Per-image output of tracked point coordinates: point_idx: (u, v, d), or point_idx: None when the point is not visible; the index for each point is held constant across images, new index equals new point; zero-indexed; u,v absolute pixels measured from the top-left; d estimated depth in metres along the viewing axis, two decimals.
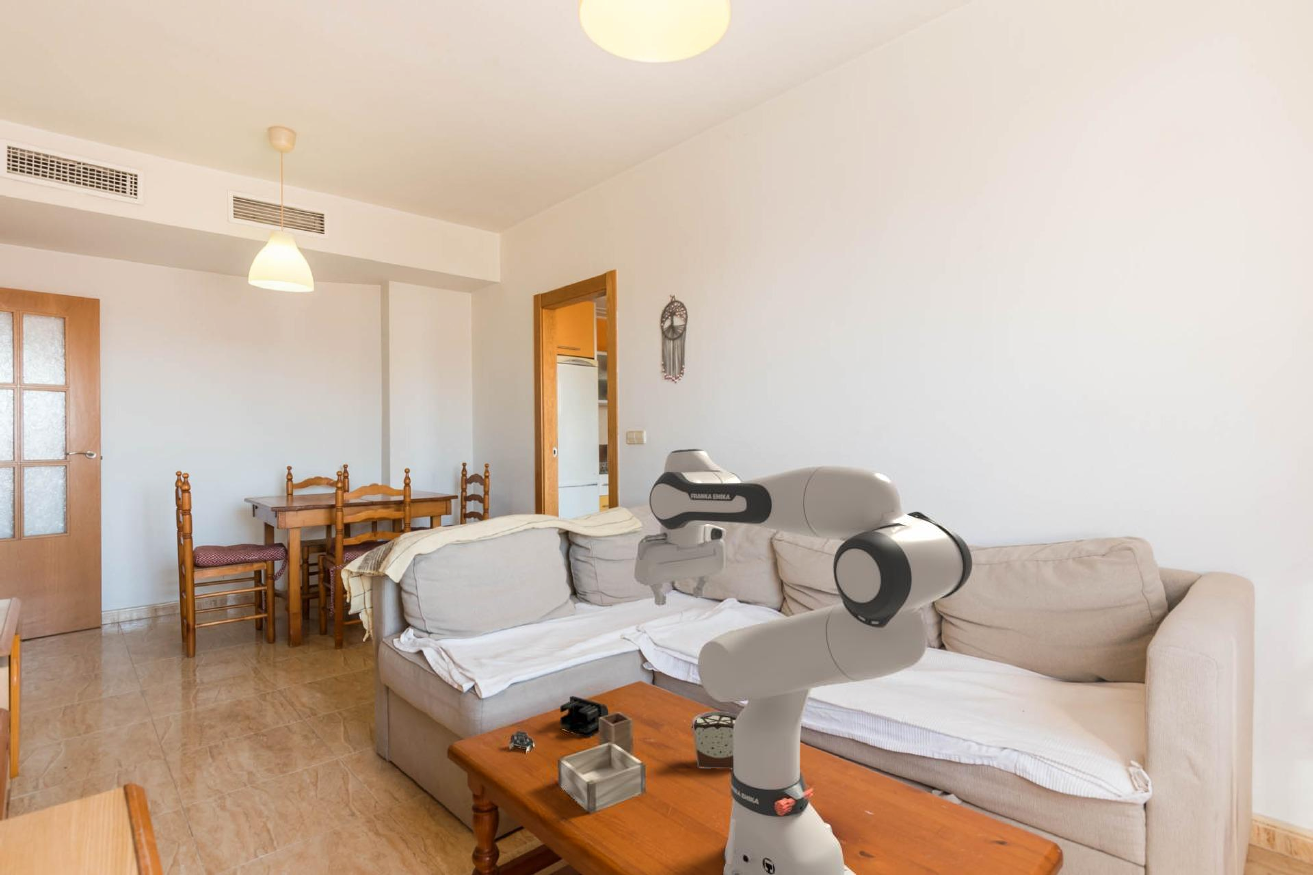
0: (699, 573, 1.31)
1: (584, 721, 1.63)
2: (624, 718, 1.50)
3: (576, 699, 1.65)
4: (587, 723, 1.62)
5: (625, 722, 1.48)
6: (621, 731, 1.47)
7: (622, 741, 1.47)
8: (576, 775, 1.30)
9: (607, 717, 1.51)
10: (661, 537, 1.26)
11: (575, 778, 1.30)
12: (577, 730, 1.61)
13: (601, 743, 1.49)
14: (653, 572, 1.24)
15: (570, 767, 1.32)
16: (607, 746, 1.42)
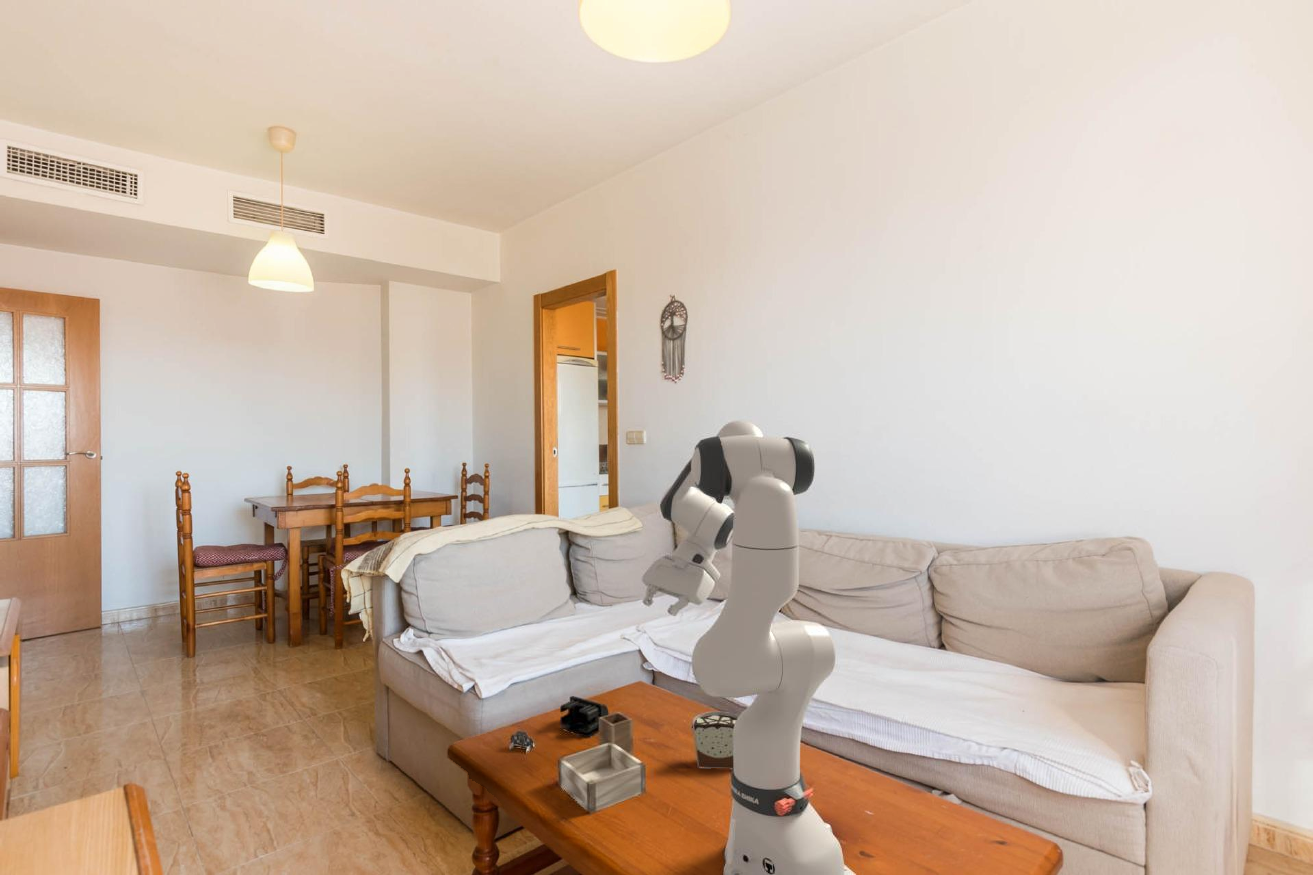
0: (675, 588, 1.53)
1: (584, 721, 1.63)
2: (624, 718, 1.50)
3: (576, 699, 1.65)
4: (587, 723, 1.62)
5: (625, 722, 1.48)
6: (621, 731, 1.47)
7: (622, 741, 1.47)
8: (576, 775, 1.30)
9: (607, 717, 1.51)
10: None
11: (575, 778, 1.30)
12: (577, 730, 1.61)
13: (601, 743, 1.49)
14: (649, 573, 1.63)
15: (570, 767, 1.32)
16: (607, 746, 1.42)
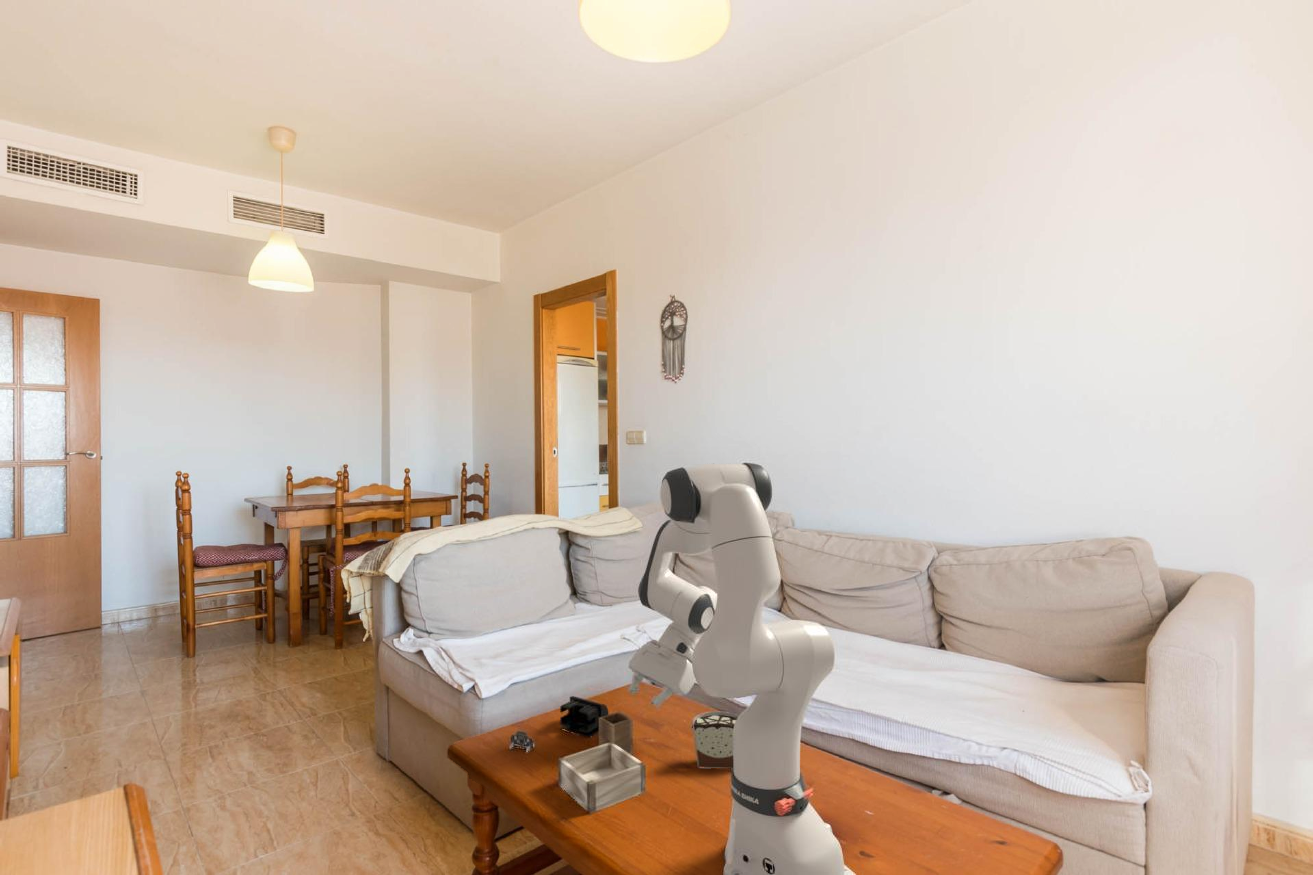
0: (659, 678, 1.53)
1: (584, 721, 1.63)
2: (624, 718, 1.50)
3: (576, 699, 1.65)
4: (587, 723, 1.62)
5: (625, 722, 1.48)
6: (621, 731, 1.47)
7: (622, 741, 1.47)
8: (576, 775, 1.30)
9: (607, 717, 1.51)
10: None
11: (575, 778, 1.30)
12: (577, 730, 1.61)
13: (601, 743, 1.49)
14: (636, 659, 1.63)
15: (570, 767, 1.32)
16: (607, 746, 1.42)
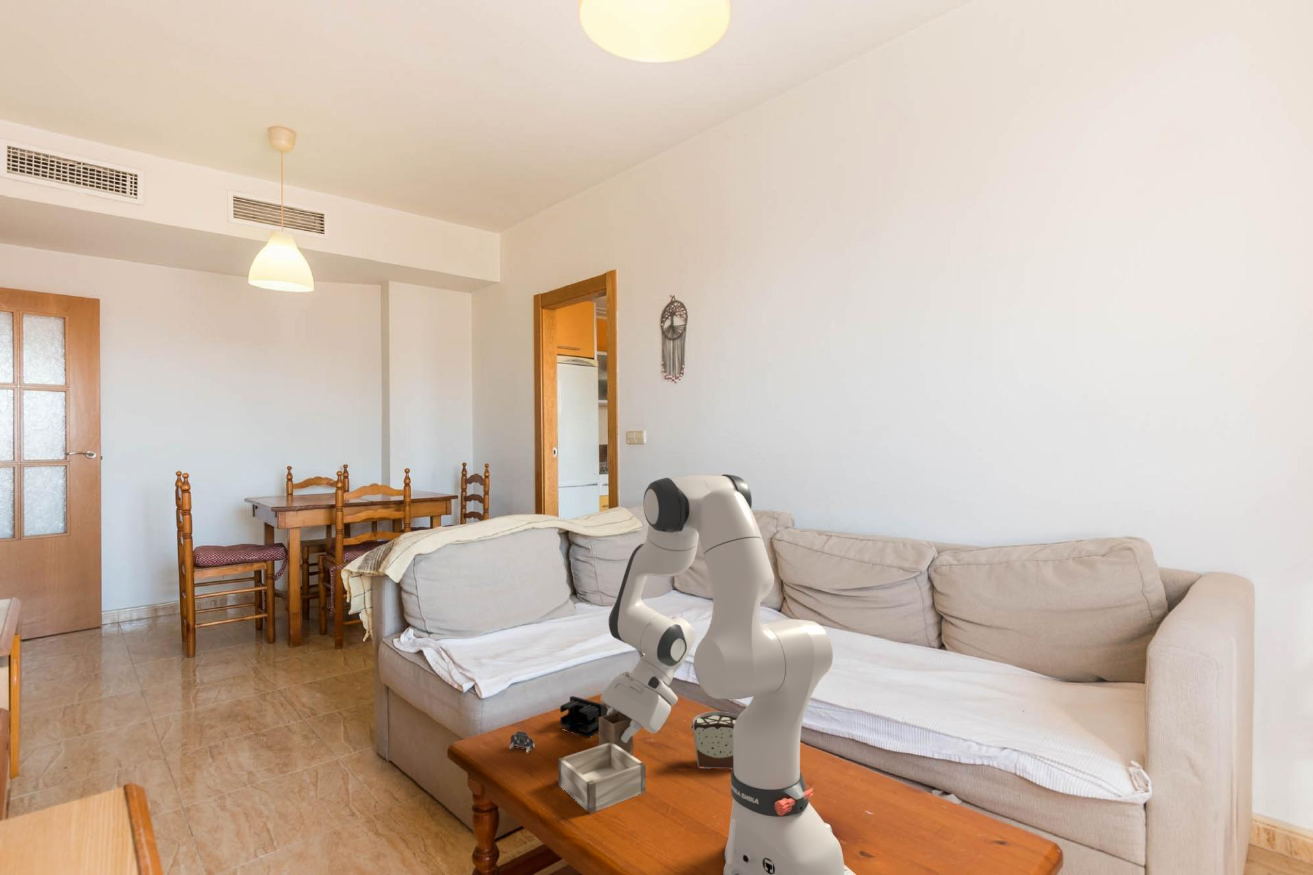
0: (630, 714, 1.48)
1: (584, 721, 1.63)
2: (624, 718, 1.50)
3: (576, 699, 1.65)
4: (587, 723, 1.62)
5: (625, 722, 1.48)
6: (621, 731, 1.47)
7: None
8: (576, 775, 1.30)
9: (607, 717, 1.51)
10: None
11: (575, 778, 1.30)
12: (577, 730, 1.61)
13: (601, 743, 1.49)
14: (608, 692, 1.58)
15: (570, 767, 1.32)
16: (607, 746, 1.42)
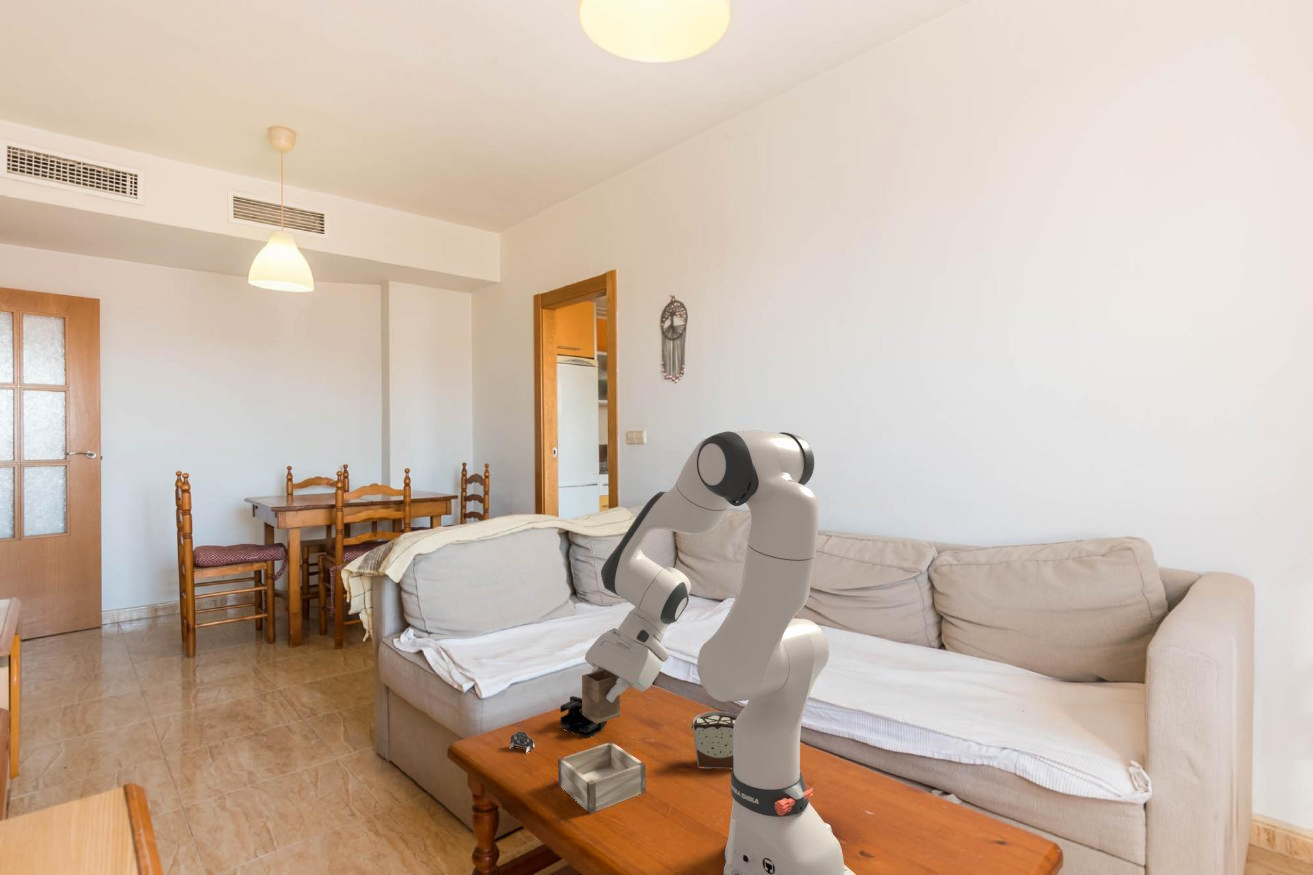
0: (617, 671, 1.33)
1: (584, 721, 1.63)
2: (610, 676, 1.35)
3: (576, 699, 1.65)
4: (587, 723, 1.62)
5: (611, 679, 1.33)
6: (606, 689, 1.32)
7: (607, 700, 1.32)
8: (576, 775, 1.30)
9: (591, 675, 1.36)
10: None
11: (575, 778, 1.30)
12: (577, 730, 1.61)
13: (584, 703, 1.34)
14: (593, 650, 1.43)
15: (570, 767, 1.32)
16: (607, 746, 1.42)
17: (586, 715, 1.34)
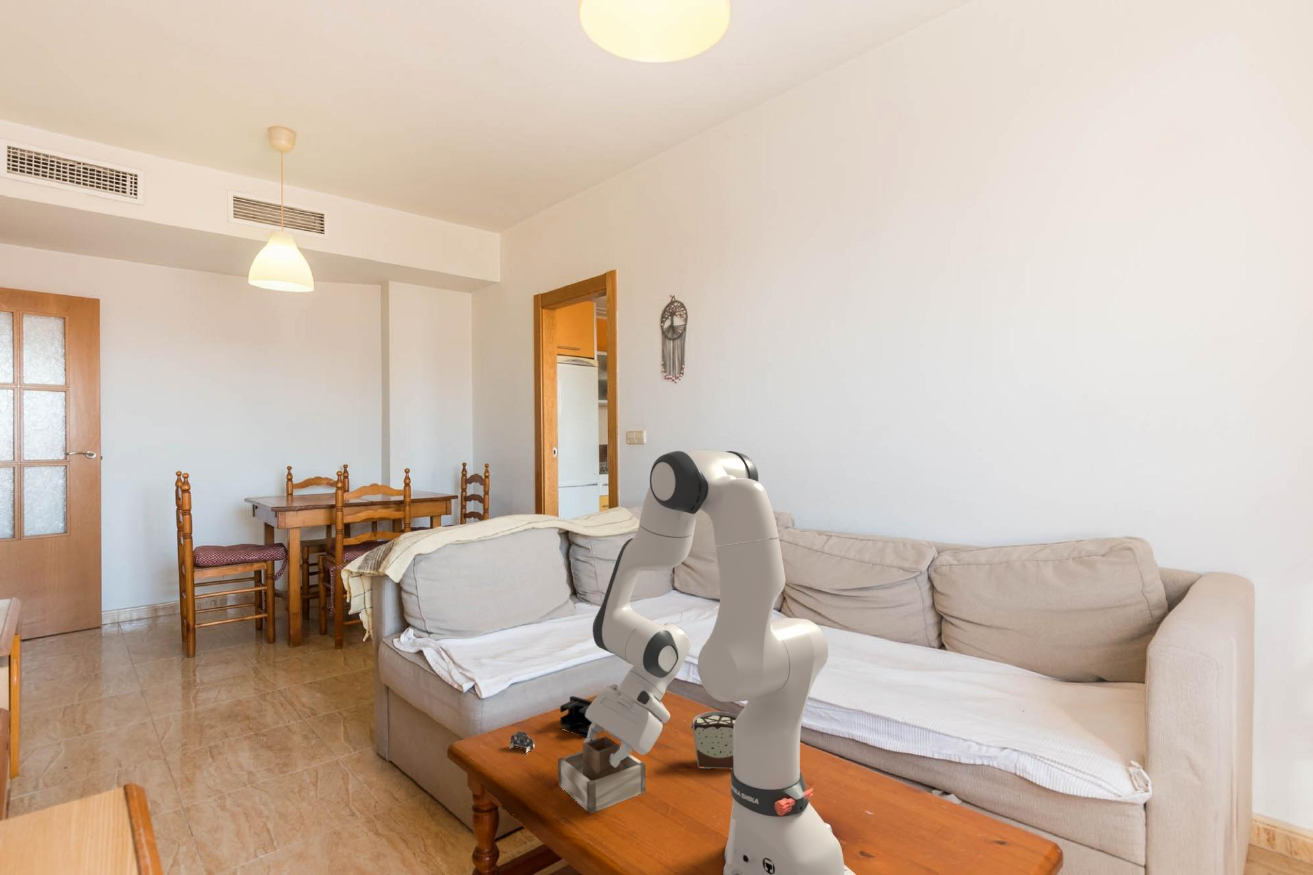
0: (617, 733, 1.33)
1: (584, 721, 1.63)
2: (611, 744, 1.35)
3: (576, 699, 1.65)
4: (587, 723, 1.62)
5: (612, 749, 1.33)
6: (607, 759, 1.32)
7: (608, 770, 1.32)
8: (576, 775, 1.30)
9: (592, 743, 1.36)
10: None
11: (575, 778, 1.30)
12: (577, 730, 1.61)
13: (585, 772, 1.34)
14: (593, 707, 1.43)
15: (570, 767, 1.32)
16: None
17: None
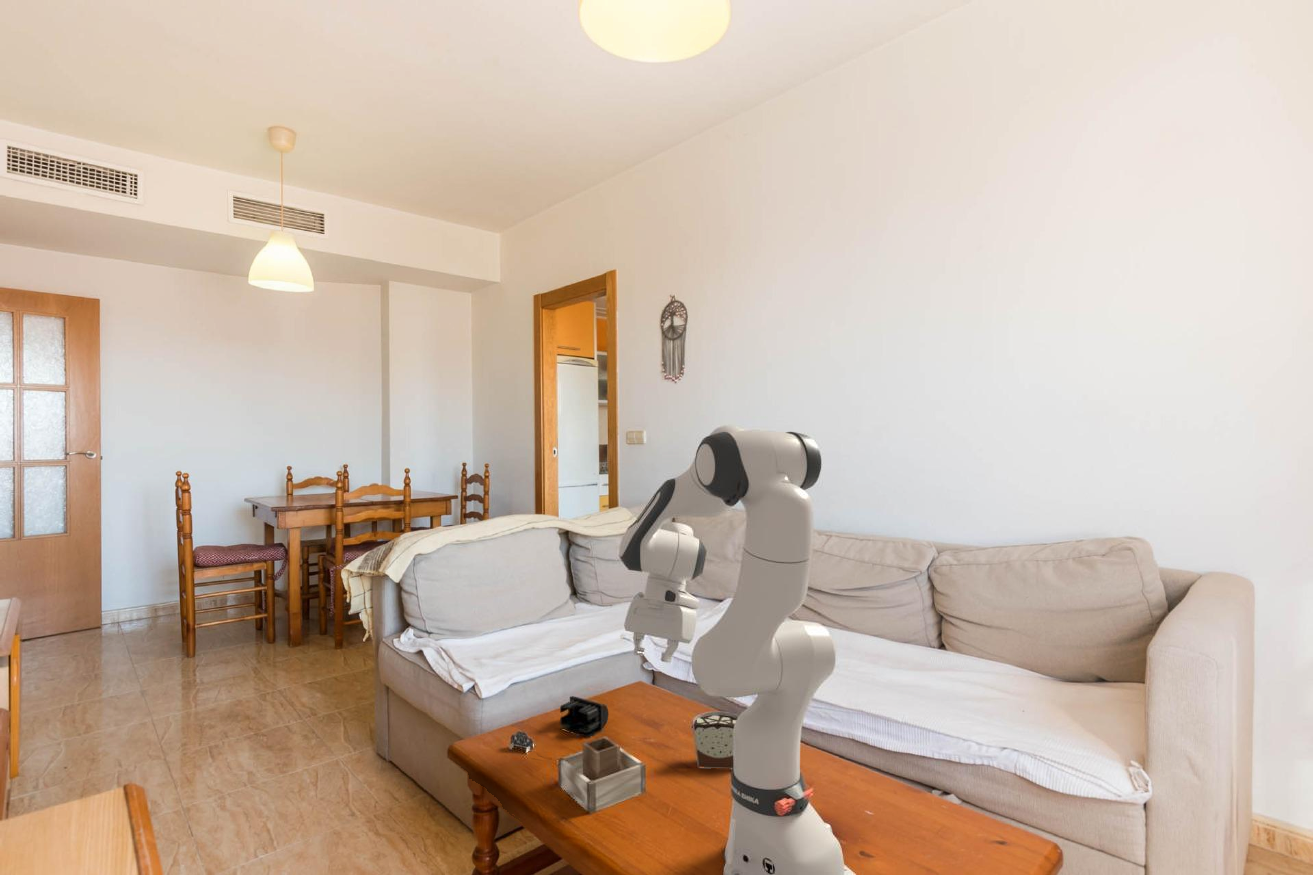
0: (660, 634, 1.43)
1: (584, 721, 1.63)
2: (611, 744, 1.35)
3: (576, 699, 1.65)
4: (587, 723, 1.62)
5: (612, 749, 1.33)
6: (607, 759, 1.32)
7: (608, 770, 1.32)
8: (576, 775, 1.30)
9: (592, 743, 1.36)
10: None
11: (575, 778, 1.30)
12: (577, 730, 1.61)
13: (585, 772, 1.34)
14: (629, 620, 1.52)
15: (570, 767, 1.32)
16: None
17: None
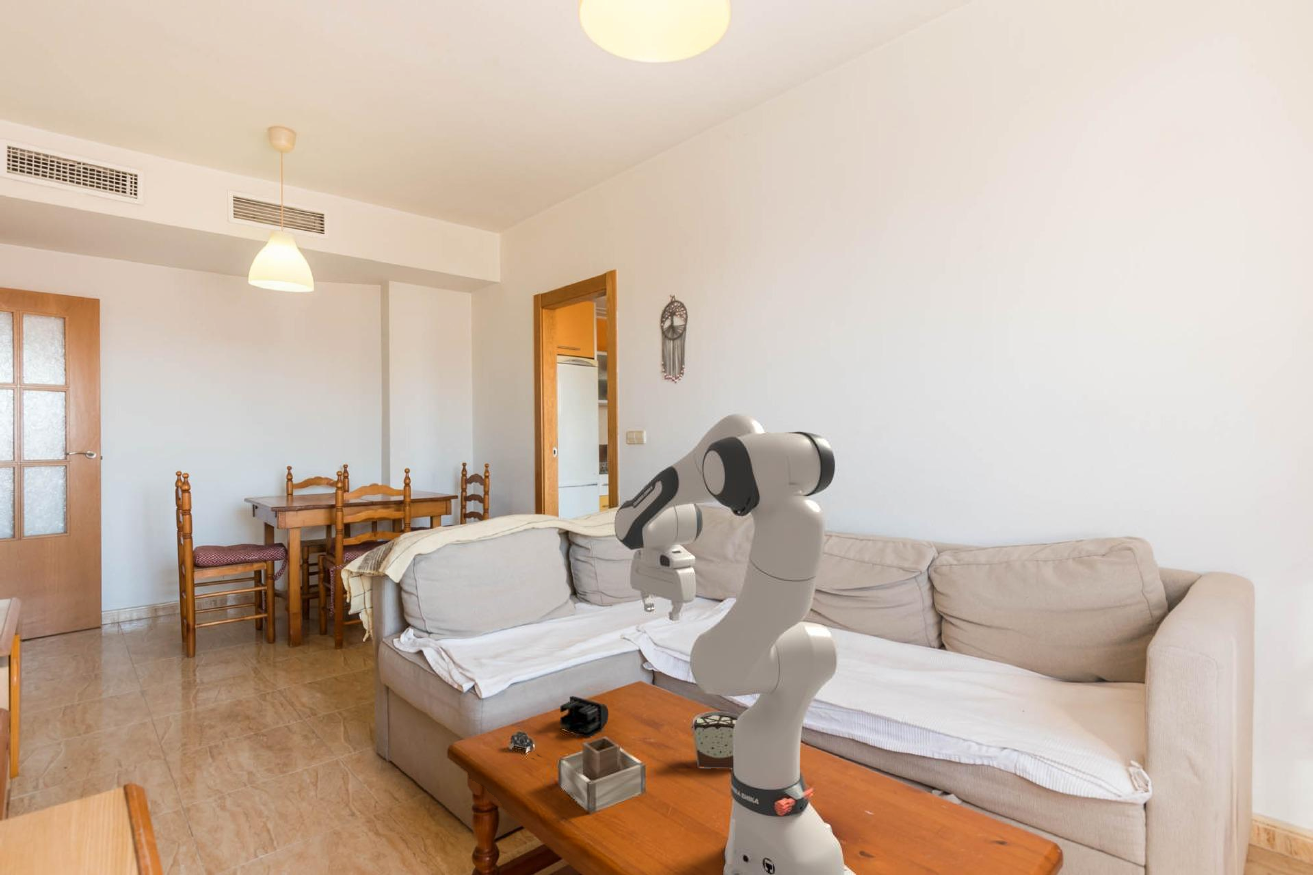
0: (663, 595, 1.45)
1: (584, 721, 1.63)
2: (611, 744, 1.35)
3: (576, 699, 1.65)
4: (587, 723, 1.62)
5: (612, 749, 1.33)
6: (607, 759, 1.32)
7: (608, 770, 1.32)
8: (576, 775, 1.30)
9: (592, 743, 1.36)
10: None
11: (575, 778, 1.30)
12: (577, 730, 1.61)
13: (585, 772, 1.34)
14: (634, 579, 1.54)
15: (570, 767, 1.32)
16: None
17: None
